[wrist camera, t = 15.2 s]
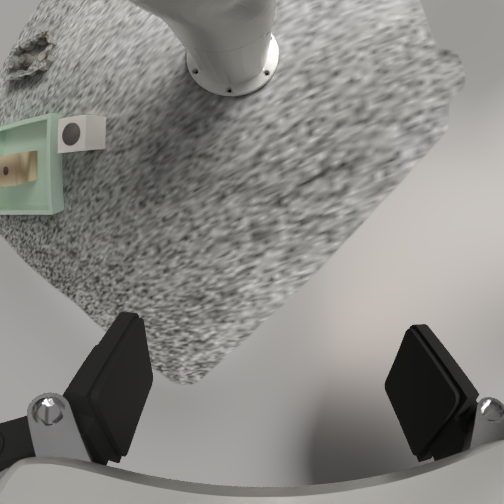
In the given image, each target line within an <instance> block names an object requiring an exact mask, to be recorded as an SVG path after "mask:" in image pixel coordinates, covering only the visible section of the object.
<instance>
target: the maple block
mask: <svg viewBox="0 0 504 504" xmlns="http://www.w3.org/2000/svg"><path fill="white" fill-rule="evenodd" d="M37 179H38V150H37V151H29V152H22V153H15V154H10V155H5V156H0V187H4V186H14V185H19V184H23V183H26V182H30V181H34V180H37Z"/></svg>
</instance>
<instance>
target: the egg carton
mask: <svg viewBox="0 0 504 504" xmlns="http://www.w3.org/2000/svg"><path fill="white" fill-rule="evenodd" d="M57 41H58V40H55V39H54V37H52V36H51V35H48V31H47V32H46V31H45V32H41V33H39V34H37V35H36V36H35V37H32V38H31V39H29V40H26V41H25V42H23V43H22V44H21V45H19V47H17V48H14V49H13V50H12V56H11V57H10V58H9V60H10V62H9V63H8V68H7V74H6V76H5V79H4V80H12V79H14V80H22V79H23V77H24V75H31V76H32V75H35V73H36V71H37V70H38V69H39V70H43V71H46V70H48V69H49V66H50V65H51V64H52V63H53V62H54V59H55V57H54V56H51V51H52V49H53V47H55V46H56V45H57ZM47 42H48V43H49V44H48V45H47V46H46V48H45V50H43V51H41V52H40V53H39V55H38V61H42V63H41V65H40V66H38V65H33V66H30V65H31V64H32V62H33V60H34V57H33V56H32V55H29V54H26V53H24V54H23V55H21V54H22V53H23V52H24V49H25V50H28V51H31V50H33V49H34V48H35V46H36V44H39V45H42V46H43V45H45V44H46V43H47ZM20 55H21V57H20V59H19V56H20ZM46 55H48V57H47V59H45V57H46ZM44 59H45V60H44ZM43 60H44V61H43ZM21 66H26V67H28V66H30V67H29V68H28V70H27V71H24V70H19V69H20V68H21Z"/></svg>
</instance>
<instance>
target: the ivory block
mask: <svg viewBox="0 0 504 504" xmlns="http://www.w3.org/2000/svg"><path fill="white" fill-rule="evenodd" d="M105 134H106V117H105V116H97V115H90V114H84V115H78V116H72V117H66V118H61V119H59V121H58V153H67V152H76V151H86V150H98V149H105Z"/></svg>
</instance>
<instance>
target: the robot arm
mask: <svg viewBox="0 0 504 504" xmlns="http://www.w3.org/2000/svg"><path fill="white" fill-rule="evenodd" d="M129 1H130V2H132V3H133V4H135V5H137V6H138V7H140V8H142V9H144V10H145V11H147V12H149V13H151V14H153V15H155V16H157V17H159V18H161V19H162V20H163V21H164V22H165V23H166V24H167V25H168V26H169V27H170V28H171V30H172V31H173V32H174V34H175V35H176V36H177V38H178V39H179V40H180V42H181V43H182V44H183V46H184V47H185V48H186V50H187V54H186V62H187V66H188V70H189V72H190V74H191V76H192V77H193V79H194V80H195V81H196V82H197V83H198V84H199V85H200V86H201V87H202V88H204V89H205V90H207V91H209V92H211V93H213V94H217V95H221V96H230V97H233V96H242V95H246V94H249V93H252V92H254V91H256V90H258V89H259V88H261V87H262V86H264V85H265V84H266V83H267V82H268V81H269V80H270V79H271V77H272V76H273V74H274V73H275V71H276V68H277V66H278V62H279V47H278V44H277V41H276V39H275V37H274V36H273V34H272V33H271V32H272V26H273V20H274V14H275V7H276V1H275V0H129ZM270 40H271V41H270ZM196 71H198V73H197V74H195V72H196ZM265 73H268V76H265ZM228 90H232V91H231V92H230V93H229V92H228ZM152 381H153V373H152V368H151V363H150V357H149V351H148V345H147V339H146V333H145V326H144V320H143V319H142V318H139V315H138V314H137V313H130V312H121V313H120V314H119V315H118V317H117V318H116V319H115V321H114V322H113V324H112V325H111V327H110V328H109V329H108V331H107V332H106V334H105V335H104V337H103V338H102V340H101V341H100V342H99V344H98V345H96V346H95V347H94V348H93V349H92V351H91V352H90V354H89V355H88V357H87V358H86V360H85V361H84V363H83V365H82V366H81V368H80V369H79V370H78V372H77V374H76V375H75V377H74V378H73V380H72V381H71V383H70V384H69V387H68V388H67V389H66V391H65V392H64V394H63V396H61V395H59V394H56V393H44V394H42V395H39V396H38V397H36V398H35V399H34V400H32V402H31V403H30V404H29V406H28V409H27V416H24V417H21V418H18V419H14V420H11V421H7V422H4V423H0V504H504V405H503V404H502V403H501V402H500V401H499V400H497V399H495V398H490V397H487V398H483V399H481V400H480V401H479V402H478V403H477V401H476V399H477V397H478V396H479V393H478V392H477V390H476V389H475V387H474V386H473V384H472V383H471V382H470V380H469V379H468V377H467V376H466V375H465V373H464V372H463V371H462V369H461V368H460V367H459V366H458V364H457V363H456V361H455V360H454V359H453V357H452V356H451V355H450V353H449V352H448V351H447V350H446V348H445V347H444V346H443V344H442V343H441V342H440V341H439V339H438V338H437V337H436V336H435V334H434V333H433V332H432V331H431V329H430V328H429V327H428V326H427V325H425V324H423V325H412V326H411V327H410V329H408V330H407V331H406V332H405V335H404V338H403V340H402V343H401V346H400V349H399V351H398V353H397V356H396V358H395V361H394V363H393V365H392V368H391V370H390V372H389V375H388V377H387V379H386V382H385V390H386V393H387V395H388V397H389V399H390V401H391V404H392V406H393V408H394V411H395V413H396V415H397V418H398V420H399V422H400V425H401V427H402V429H403V432H404V434H405V436H406V439H407V441H408V444H409V446H410V449H411V451H412V453H413V455H415V456H417V459H418V461H419V462H421V461H424V460H427V459H431V458H432V456H433V457H434V462H431V463H427V464H424V465H421V466H417V467H414V468H410V469H406V470H402V471H398V472H394V473H390V474H385V475H380V476H375V477H370V478H365V479H359V480H353V481H346V482H339V483H331V484H321V485H310V486H295V487H237V486H222V485H221V486H220V485H210V484H201V483H192V482H185V481H179V480H172V479H166V478H160V477H155V476H149V475H144V474H140V473H135V472H131V471H126V470H123V469H118V468H114V467H109V466H106V465H107V463H108V460H110V461H113V462H117V463H119V462H120V459H121V456H126V455H127V453H128V450H129V448H130V444H131V442H132V439H133V436H134V433H135V430H136V427H137V424H138V421H139V419H140V416H141V413H142V410H143V407H144V405H145V402H146V399H147V397H148V394H149V391H150V389H151V386H152Z"/></svg>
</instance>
